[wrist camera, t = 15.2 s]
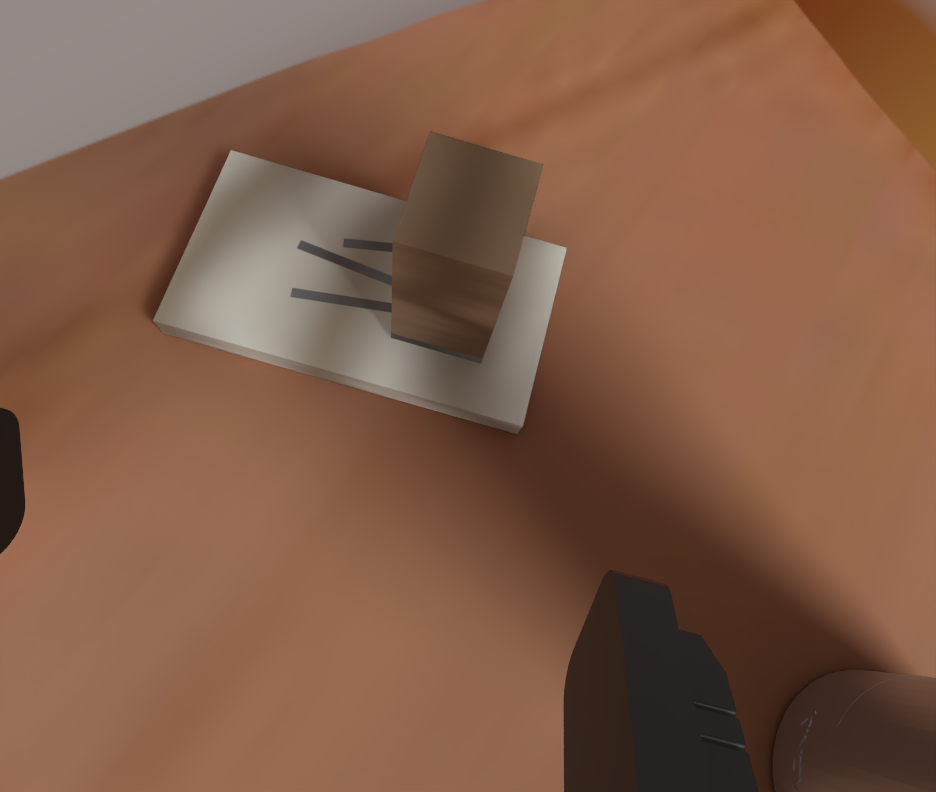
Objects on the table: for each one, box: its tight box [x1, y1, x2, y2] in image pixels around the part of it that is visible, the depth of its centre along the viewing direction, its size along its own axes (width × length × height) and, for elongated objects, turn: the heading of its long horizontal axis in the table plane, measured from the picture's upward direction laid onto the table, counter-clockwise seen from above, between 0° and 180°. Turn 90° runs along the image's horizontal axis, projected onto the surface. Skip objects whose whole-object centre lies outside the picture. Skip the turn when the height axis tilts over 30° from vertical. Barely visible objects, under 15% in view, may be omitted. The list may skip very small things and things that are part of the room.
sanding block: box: [391, 131, 543, 364], centre depth 30 cm, size 4×5×9 cm
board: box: [153, 150, 567, 434], centre depth 35 cm, size 18×10×2 cm, turn 75°
